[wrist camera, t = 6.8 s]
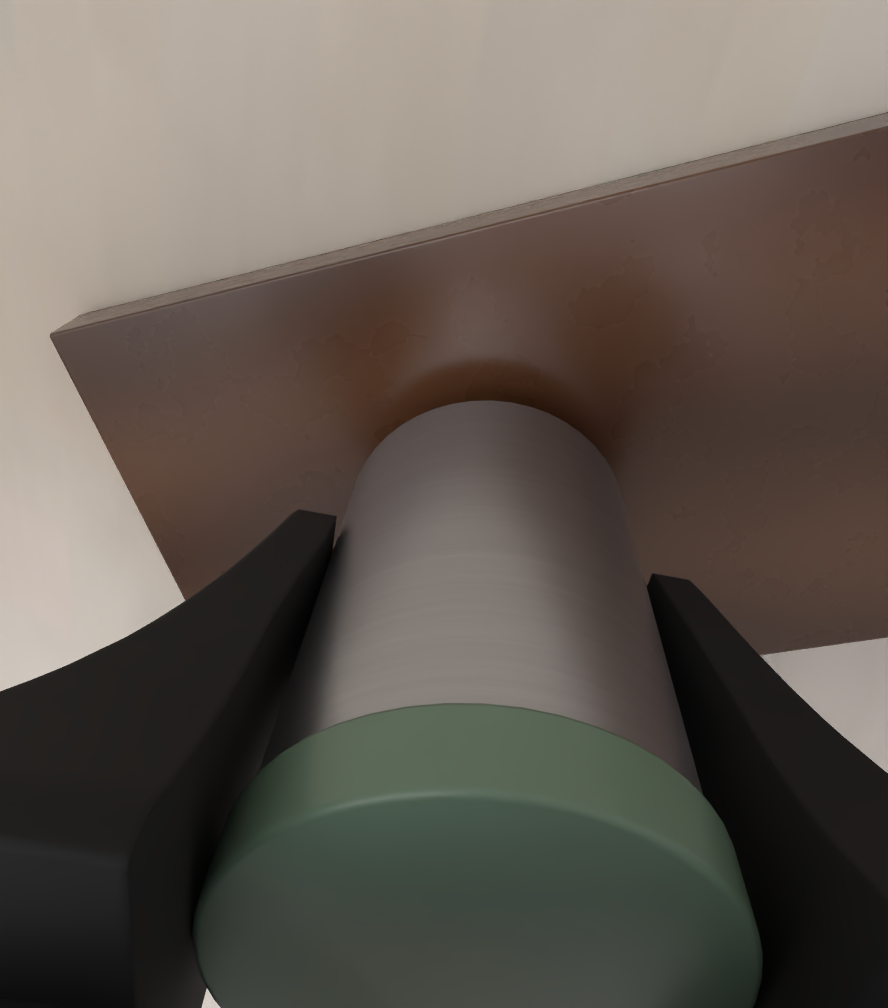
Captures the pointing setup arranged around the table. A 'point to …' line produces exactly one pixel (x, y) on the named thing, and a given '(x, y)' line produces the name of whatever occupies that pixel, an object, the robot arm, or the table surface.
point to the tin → (479, 758)
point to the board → (556, 374)
